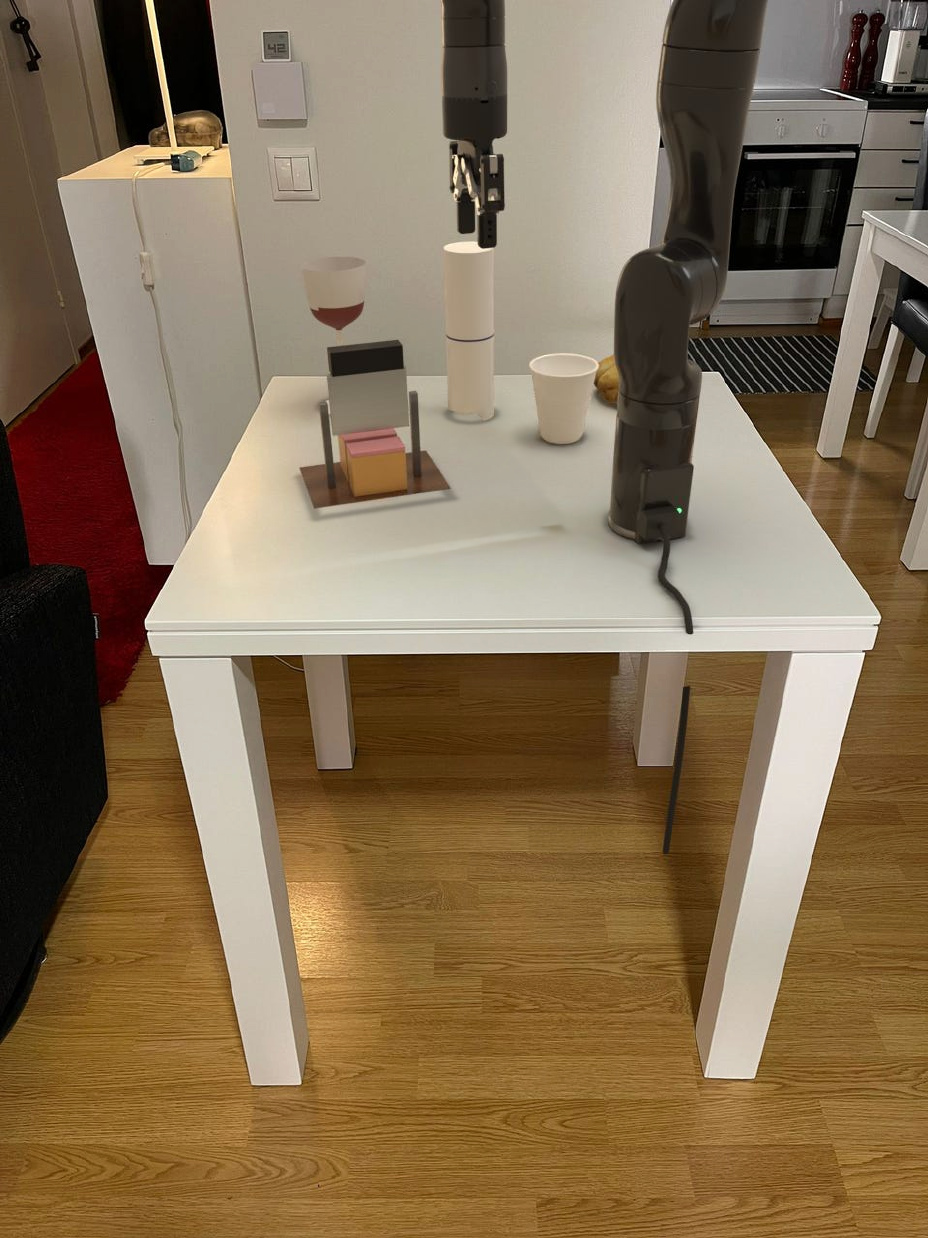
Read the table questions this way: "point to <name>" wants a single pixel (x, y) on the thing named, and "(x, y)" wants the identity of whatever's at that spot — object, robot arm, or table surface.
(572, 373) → the cup
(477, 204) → the robot arm
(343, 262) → the wineglass
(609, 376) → the bread roll
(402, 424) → the black handled scraper
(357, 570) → the table surface
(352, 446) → the cake
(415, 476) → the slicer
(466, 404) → the cylindrical container
